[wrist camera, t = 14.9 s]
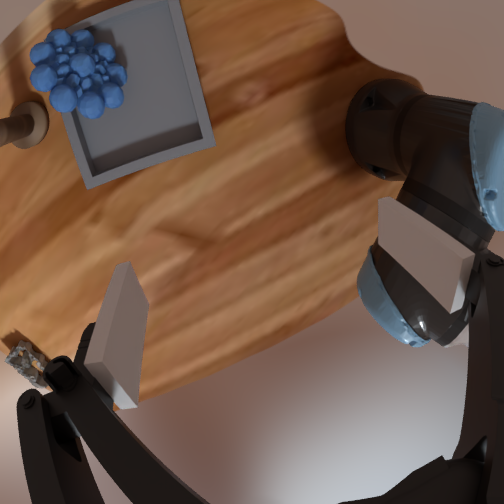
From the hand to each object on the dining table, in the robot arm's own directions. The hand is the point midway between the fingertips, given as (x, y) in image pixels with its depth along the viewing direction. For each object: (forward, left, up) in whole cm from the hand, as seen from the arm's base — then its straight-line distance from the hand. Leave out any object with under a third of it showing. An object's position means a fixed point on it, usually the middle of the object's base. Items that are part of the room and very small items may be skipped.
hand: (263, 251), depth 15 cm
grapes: (+8, -12, -23) cm, 27 cm away
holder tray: (+8, -12, -25) cm, 28 cm away
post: (+22, -13, -25) cm, 35 cm away
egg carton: (+45, +24, -25) cm, 57 cm away
